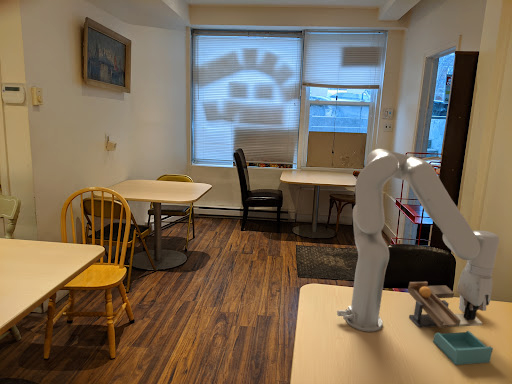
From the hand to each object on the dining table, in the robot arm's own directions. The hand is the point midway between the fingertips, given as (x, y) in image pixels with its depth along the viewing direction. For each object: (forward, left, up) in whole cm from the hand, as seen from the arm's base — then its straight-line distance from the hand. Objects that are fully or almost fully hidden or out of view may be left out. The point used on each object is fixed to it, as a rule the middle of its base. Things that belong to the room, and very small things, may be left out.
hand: (469, 318), depth 125 cm
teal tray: (-9, -9, -6) cm, 14 cm away
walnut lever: (-5, +8, 0) cm, 9 cm away
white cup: (+11, +14, -6) cm, 19 cm away
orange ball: (-9, +12, +3) cm, 16 cm away
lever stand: (-9, +8, -6) cm, 13 cm away
